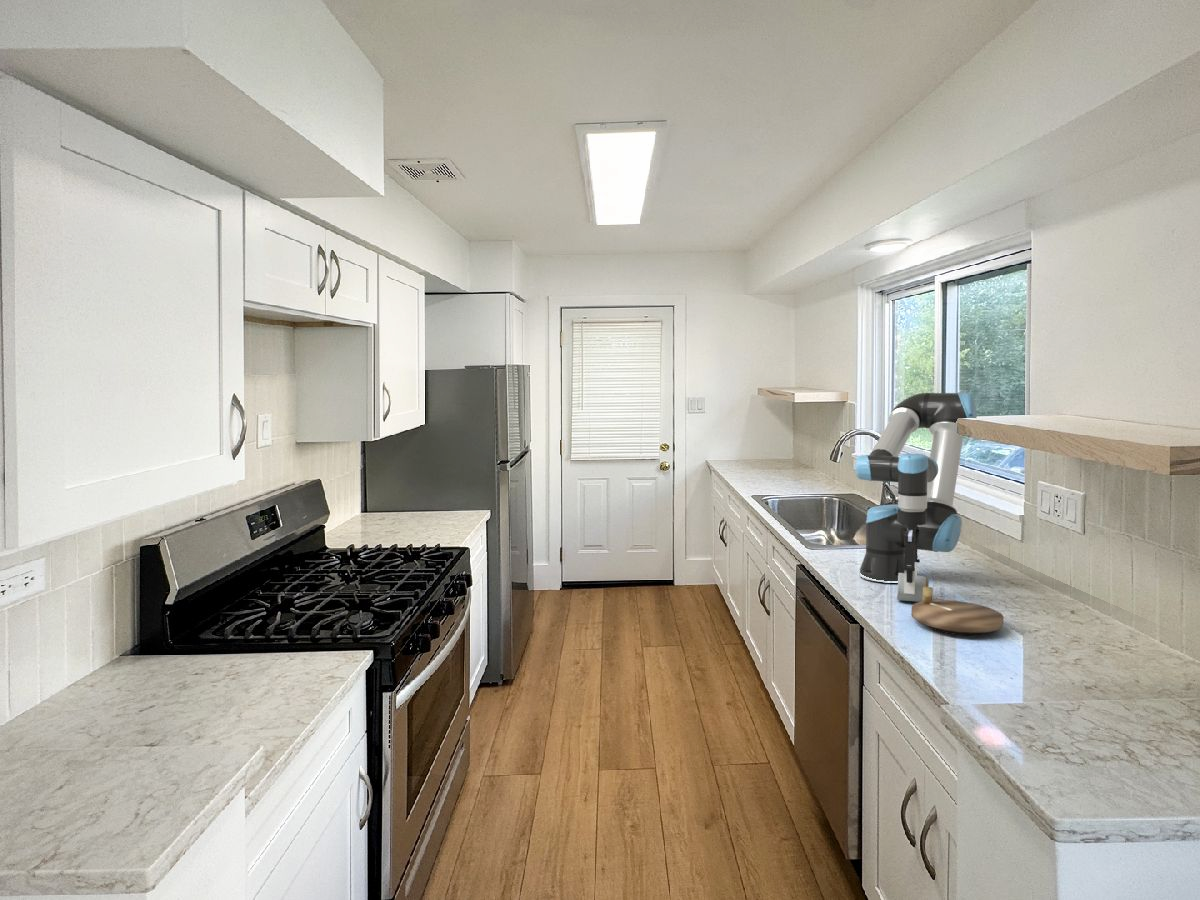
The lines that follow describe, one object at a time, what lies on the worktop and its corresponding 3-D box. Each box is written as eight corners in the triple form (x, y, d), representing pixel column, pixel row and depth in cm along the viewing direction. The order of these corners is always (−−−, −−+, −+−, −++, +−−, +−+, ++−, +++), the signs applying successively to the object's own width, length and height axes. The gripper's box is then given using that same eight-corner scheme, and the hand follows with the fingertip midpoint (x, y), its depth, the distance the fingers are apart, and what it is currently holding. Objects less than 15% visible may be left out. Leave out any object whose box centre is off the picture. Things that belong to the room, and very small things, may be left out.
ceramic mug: (928, 605, 204) (929, 578, 203) (896, 603, 207) (897, 576, 206) (927, 595, 214) (927, 569, 213) (896, 592, 217) (897, 567, 216)
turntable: (1022, 624, 183) (1023, 601, 183) (962, 637, 174) (963, 613, 174) (950, 602, 202) (951, 581, 202) (893, 613, 193) (893, 591, 193)
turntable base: (927, 614, 198) (927, 609, 198) (986, 621, 192) (986, 615, 191) (924, 630, 185) (924, 624, 185) (987, 638, 179) (987, 632, 179)
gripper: (900, 502, 218) (899, 578, 220) (894, 515, 199) (892, 597, 201) (928, 504, 214) (926, 581, 216) (924, 516, 196) (922, 601, 198)
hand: (910, 589), depth 209 cm, fingers closed on ceramic mug, 8 cm apart
